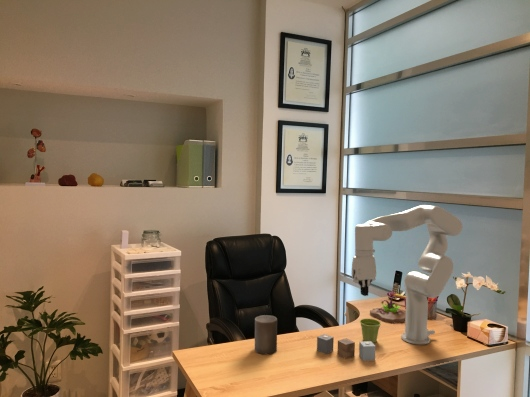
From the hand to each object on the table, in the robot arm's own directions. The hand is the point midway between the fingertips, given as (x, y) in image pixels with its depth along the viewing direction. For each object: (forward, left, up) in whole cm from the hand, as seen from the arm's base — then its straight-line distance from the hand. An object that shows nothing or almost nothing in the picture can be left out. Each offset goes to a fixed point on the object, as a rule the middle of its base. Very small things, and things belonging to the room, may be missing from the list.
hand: (364, 294), depth 180 cm
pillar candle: (+41, -13, -24) cm, 49 cm away
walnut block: (+11, +3, -24) cm, 26 cm away
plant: (-40, -31, -24) cm, 56 cm away
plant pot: (-8, -7, -24) cm, 26 cm away
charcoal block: (+17, -4, -24) cm, 29 cm away
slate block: (+4, +8, -24) cm, 26 cm away
